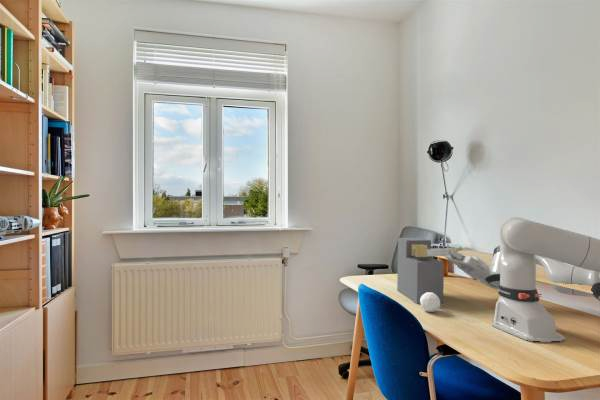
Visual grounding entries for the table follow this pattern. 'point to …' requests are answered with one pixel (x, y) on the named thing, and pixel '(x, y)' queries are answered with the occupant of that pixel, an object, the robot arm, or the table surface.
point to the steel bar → (430, 251)
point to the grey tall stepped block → (418, 271)
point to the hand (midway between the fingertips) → (448, 251)
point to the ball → (430, 302)
